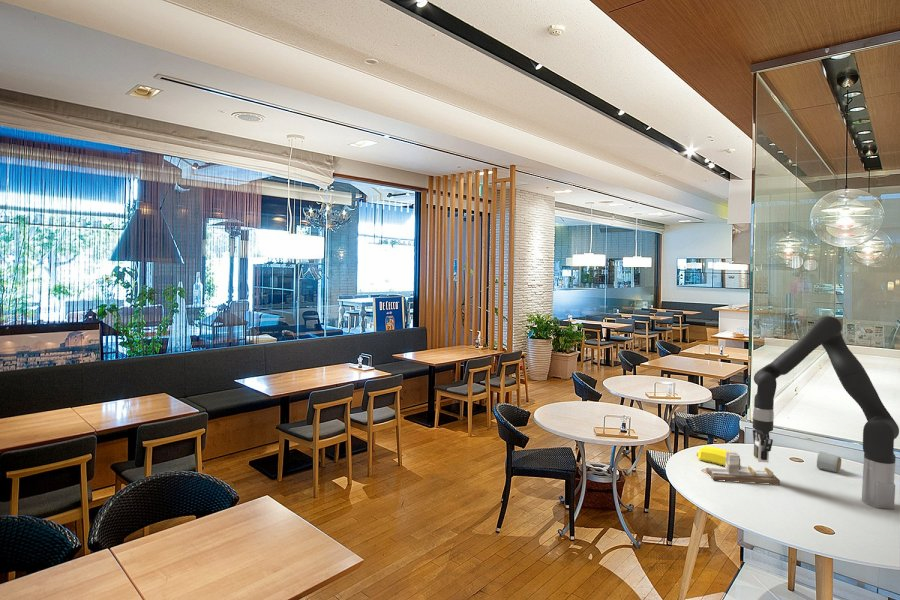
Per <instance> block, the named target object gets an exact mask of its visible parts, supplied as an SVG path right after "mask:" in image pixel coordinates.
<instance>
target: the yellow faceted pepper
mask: <svg viewBox="0 0 900 600" xmlns="http://www.w3.org/2000/svg"><path fill="white" fill-rule="evenodd" d="M726 452H731V451H730V450H727V449H723V448H720V447H716V446H715V447H714V446H707V445H704V446H702V447H701V448H699V449H698V451H697V452H696V457H697V460H699V461H701V460H703V461H702V462H706V461H708V462H707V463H711V462H712V463H711V464H716V465H719V466H722V465H723V467H726Z"/></svg>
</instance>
